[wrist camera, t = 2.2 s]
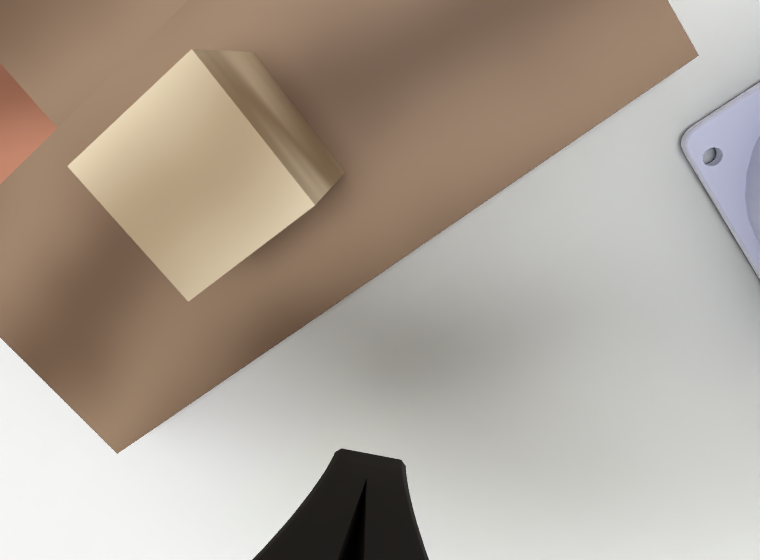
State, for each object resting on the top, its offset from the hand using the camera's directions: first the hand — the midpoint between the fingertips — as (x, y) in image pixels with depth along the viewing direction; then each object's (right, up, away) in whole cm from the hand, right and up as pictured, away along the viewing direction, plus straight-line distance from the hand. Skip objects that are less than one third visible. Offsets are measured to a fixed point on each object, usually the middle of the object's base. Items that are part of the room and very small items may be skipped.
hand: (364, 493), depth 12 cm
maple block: (-3, +8, +5) cm, 10 cm away
